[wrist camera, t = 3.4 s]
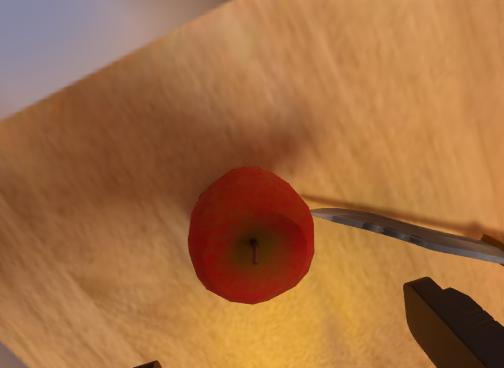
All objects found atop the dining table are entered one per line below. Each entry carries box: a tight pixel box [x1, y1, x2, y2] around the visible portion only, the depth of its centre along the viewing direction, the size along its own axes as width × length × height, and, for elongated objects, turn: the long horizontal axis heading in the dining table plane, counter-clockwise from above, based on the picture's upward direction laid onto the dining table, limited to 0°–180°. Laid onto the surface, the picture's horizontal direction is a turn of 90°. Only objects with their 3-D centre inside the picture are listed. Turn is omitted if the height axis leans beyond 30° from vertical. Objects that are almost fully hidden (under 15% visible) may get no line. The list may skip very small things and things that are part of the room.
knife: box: [310, 208, 504, 266], centre depth 24 cm, size 25×1×5 cm, turn 75°
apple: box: [188, 167, 314, 304], centre depth 20 cm, size 6×6×8 cm
